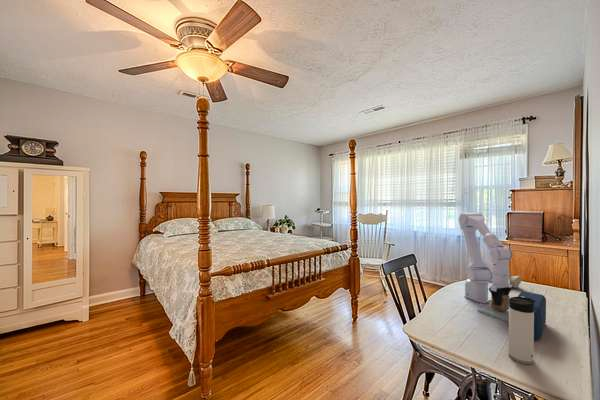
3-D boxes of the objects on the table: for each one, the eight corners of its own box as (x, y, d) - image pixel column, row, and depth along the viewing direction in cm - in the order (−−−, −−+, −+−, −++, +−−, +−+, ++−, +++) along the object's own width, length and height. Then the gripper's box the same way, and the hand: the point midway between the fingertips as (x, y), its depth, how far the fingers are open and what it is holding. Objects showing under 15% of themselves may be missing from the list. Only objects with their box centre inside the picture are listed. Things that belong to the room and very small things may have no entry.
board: (478, 311, 120) (478, 309, 120) (492, 304, 127) (492, 301, 127) (509, 322, 109) (509, 320, 109) (523, 313, 117) (523, 311, 117)
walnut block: (491, 307, 119) (491, 294, 119) (496, 304, 122) (496, 292, 121) (504, 311, 115) (504, 298, 114) (509, 308, 117) (509, 295, 117)
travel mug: (539, 366, 82) (540, 303, 82) (515, 363, 84) (516, 301, 83) (526, 354, 88) (527, 295, 88) (504, 352, 90) (504, 294, 89)
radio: (518, 316, 115) (519, 270, 114) (546, 323, 108) (547, 275, 108) (509, 334, 101) (509, 282, 100) (540, 343, 94) (540, 288, 93)
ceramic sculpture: (520, 275, 142) (487, 271, 152) (521, 291, 141) (488, 286, 151) (521, 270, 149) (489, 267, 159) (522, 286, 149) (490, 281, 159)
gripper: (504, 279, 110) (503, 310, 111) (518, 272, 118) (518, 302, 118) (485, 274, 116) (485, 304, 117) (499, 269, 124) (499, 297, 124)
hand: (500, 303), depth 118 cm, fingers closed on walnut block, 5 cm apart
